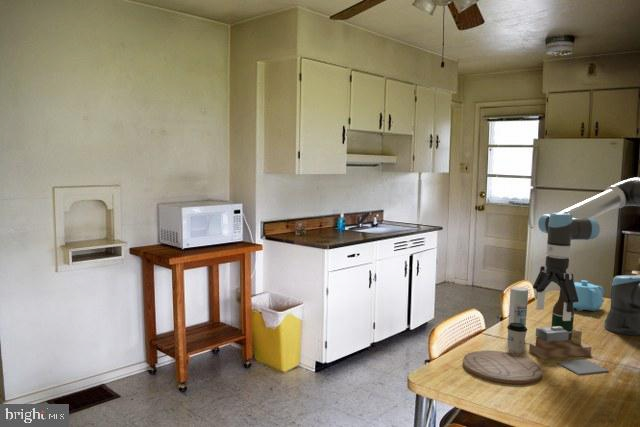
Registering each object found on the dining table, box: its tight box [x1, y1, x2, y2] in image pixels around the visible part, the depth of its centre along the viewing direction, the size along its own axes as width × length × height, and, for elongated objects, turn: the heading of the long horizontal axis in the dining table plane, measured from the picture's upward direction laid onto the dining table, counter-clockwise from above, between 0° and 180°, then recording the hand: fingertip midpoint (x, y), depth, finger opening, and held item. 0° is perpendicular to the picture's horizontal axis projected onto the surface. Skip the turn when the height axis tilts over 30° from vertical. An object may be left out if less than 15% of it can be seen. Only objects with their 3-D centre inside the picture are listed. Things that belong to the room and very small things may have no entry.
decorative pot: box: [573, 279, 605, 312], centre depth 247 cm, size 16×16×14 cm
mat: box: [556, 358, 609, 376], centre depth 174 cm, size 12×10×1 cm
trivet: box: [462, 350, 543, 386], centre depth 171 cm, size 25×25×2 cm
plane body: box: [528, 328, 592, 360], centre depth 186 cm, size 20×8×8 cm, turn 105°
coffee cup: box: [506, 323, 528, 355], centre depth 187 cm, size 7×7×10 cm
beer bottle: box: [550, 281, 575, 340], centre depth 199 cm, size 8×8×24 cm
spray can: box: [507, 286, 529, 328], centre depth 200 cm, size 6×6×20 cm
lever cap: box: [535, 326, 569, 341], centre depth 185 cm, size 9×6×4 cm, turn 105°
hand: (552, 314), depth 184 cm, fingers open, 13 cm apart
